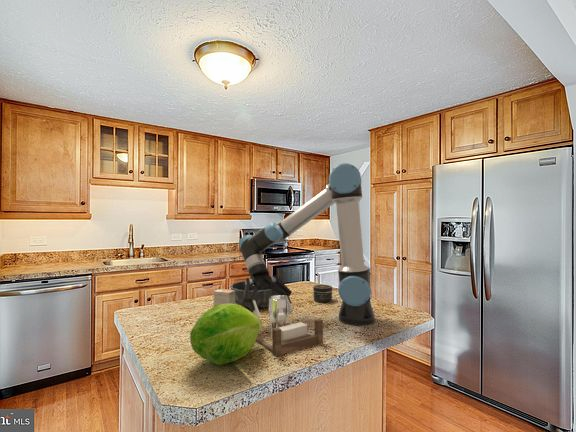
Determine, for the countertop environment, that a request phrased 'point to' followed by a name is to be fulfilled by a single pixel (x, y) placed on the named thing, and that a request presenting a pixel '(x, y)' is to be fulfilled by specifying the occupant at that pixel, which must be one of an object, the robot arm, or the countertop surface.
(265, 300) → the bundt pan
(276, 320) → the beer glass
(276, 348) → the rack
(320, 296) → the jar
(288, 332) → the offcut upper
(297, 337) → the offcut lower
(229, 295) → the supplement box
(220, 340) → the lettuce
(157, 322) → the countertop surface
